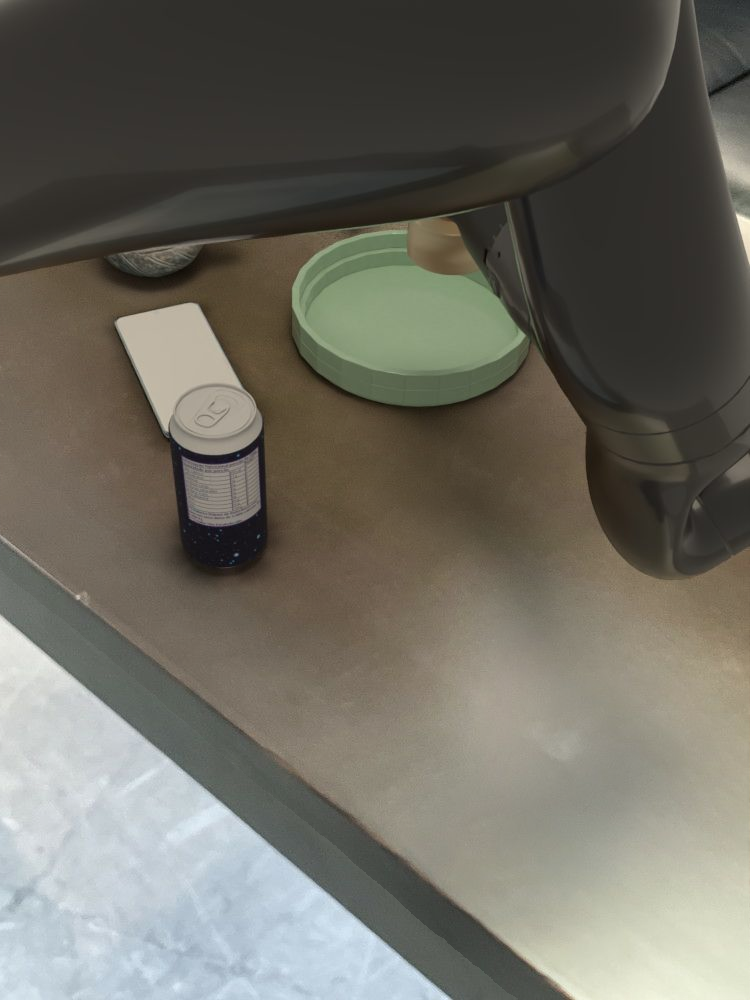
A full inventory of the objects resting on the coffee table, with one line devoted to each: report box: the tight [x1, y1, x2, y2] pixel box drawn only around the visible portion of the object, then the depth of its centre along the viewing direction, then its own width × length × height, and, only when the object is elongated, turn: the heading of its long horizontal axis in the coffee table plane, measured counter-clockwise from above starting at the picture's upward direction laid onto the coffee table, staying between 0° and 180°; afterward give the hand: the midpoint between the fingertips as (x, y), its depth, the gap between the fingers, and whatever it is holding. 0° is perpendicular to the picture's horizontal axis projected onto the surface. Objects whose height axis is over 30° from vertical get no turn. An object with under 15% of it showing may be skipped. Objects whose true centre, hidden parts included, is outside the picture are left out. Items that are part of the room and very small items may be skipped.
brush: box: [406, 217, 480, 275], centre depth 70 cm, size 6×6×15 cm
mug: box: [104, 244, 205, 278], centre depth 95 cm, size 10×12×10 cm
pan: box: [291, 229, 531, 408], centre depth 92 cm, size 19×19×4 cm
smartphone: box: [113, 301, 246, 439], centre depth 88 cm, size 7×1×15 cm
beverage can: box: [168, 383, 269, 569], centre depth 72 cm, size 6×6×12 cm
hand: (445, 100), depth 71 cm, fingers closed on brush, 2 cm apart
